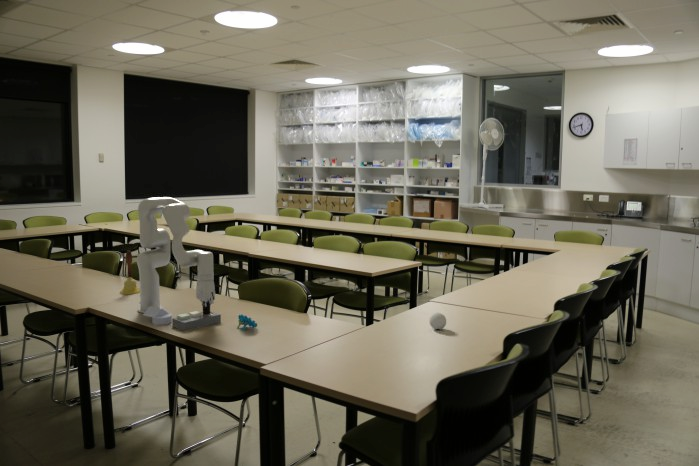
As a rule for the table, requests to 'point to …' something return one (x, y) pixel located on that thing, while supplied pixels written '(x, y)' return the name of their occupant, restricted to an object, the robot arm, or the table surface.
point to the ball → (437, 321)
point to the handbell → (129, 278)
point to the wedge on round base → (158, 316)
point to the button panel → (197, 321)
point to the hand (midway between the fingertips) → (206, 313)
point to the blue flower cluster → (246, 322)
